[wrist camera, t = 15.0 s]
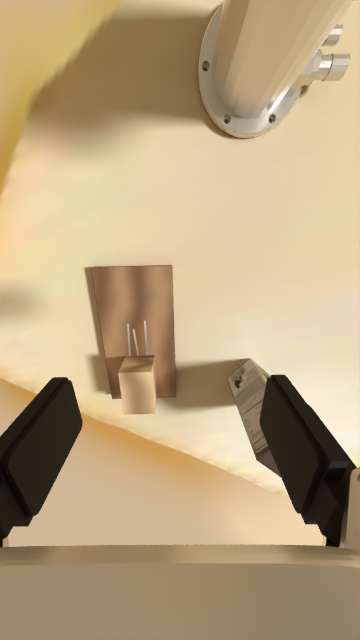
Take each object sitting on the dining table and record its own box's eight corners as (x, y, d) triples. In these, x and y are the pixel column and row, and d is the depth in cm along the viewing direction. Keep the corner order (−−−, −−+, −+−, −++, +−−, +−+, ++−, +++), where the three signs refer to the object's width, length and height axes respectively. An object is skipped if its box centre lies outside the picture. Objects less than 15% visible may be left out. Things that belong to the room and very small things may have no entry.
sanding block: (154, 355, 36) (151, 371, 31) (157, 393, 38) (154, 413, 34) (125, 355, 36) (118, 372, 31) (130, 393, 38) (124, 414, 34)
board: (172, 265, 32) (172, 266, 31) (176, 391, 40) (175, 397, 39) (94, 266, 32) (90, 267, 30) (114, 393, 40) (112, 398, 39)
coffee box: (281, 383, 40) (345, 468, 25) (256, 403, 41) (302, 494, 26) (250, 356, 38) (300, 430, 23) (225, 378, 39) (255, 462, 24)
